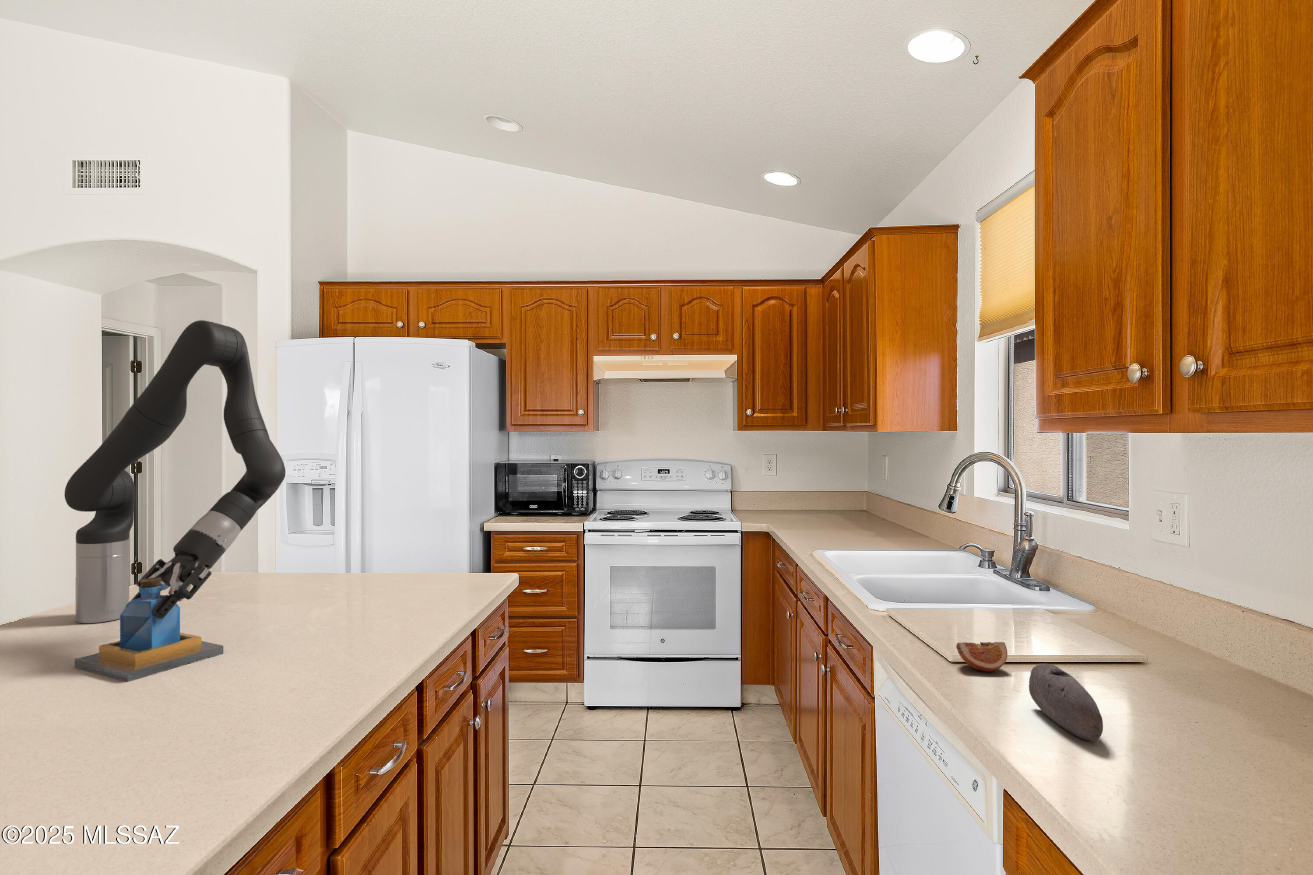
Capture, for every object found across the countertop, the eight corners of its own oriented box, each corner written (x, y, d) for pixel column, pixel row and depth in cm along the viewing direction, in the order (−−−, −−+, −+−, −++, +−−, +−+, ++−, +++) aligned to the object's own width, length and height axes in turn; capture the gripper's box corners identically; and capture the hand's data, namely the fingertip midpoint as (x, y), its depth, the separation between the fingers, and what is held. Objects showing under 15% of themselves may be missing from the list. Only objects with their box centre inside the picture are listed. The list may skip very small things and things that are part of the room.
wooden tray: (74, 667, 120) (74, 647, 120) (171, 642, 134) (171, 624, 134) (127, 681, 113) (127, 660, 113) (223, 653, 127) (223, 634, 127)
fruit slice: (964, 675, 118) (964, 646, 117) (949, 662, 124) (949, 635, 124) (1013, 676, 117) (1013, 647, 117) (995, 663, 124) (995, 636, 124)
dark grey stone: (1118, 752, 89) (1118, 699, 89) (1076, 750, 90) (1076, 698, 90) (1061, 706, 104) (1061, 661, 104) (1025, 705, 105) (1025, 660, 105)
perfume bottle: (180, 640, 126) (180, 576, 126) (151, 651, 120) (151, 583, 120) (149, 639, 127) (149, 575, 127) (120, 649, 121) (120, 582, 121)
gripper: (171, 525, 133) (103, 598, 123) (218, 530, 127) (150, 606, 117) (199, 548, 138) (136, 619, 128) (245, 554, 132) (183, 629, 122)
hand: (143, 613), depth 122 cm, fingers closed on perfume bottle, 7 cm apart
